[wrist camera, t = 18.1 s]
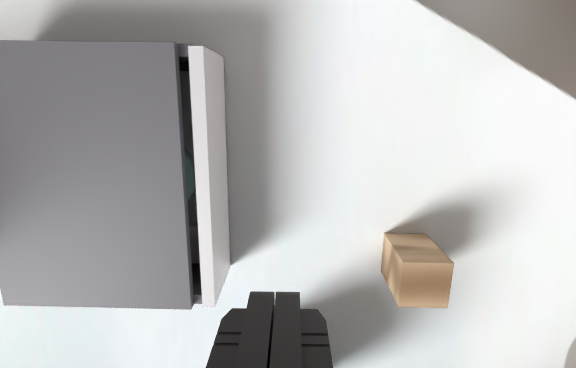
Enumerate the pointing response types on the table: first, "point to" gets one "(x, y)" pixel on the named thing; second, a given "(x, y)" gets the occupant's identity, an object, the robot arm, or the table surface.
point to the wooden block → (416, 270)
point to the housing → (94, 176)
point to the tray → (207, 167)
